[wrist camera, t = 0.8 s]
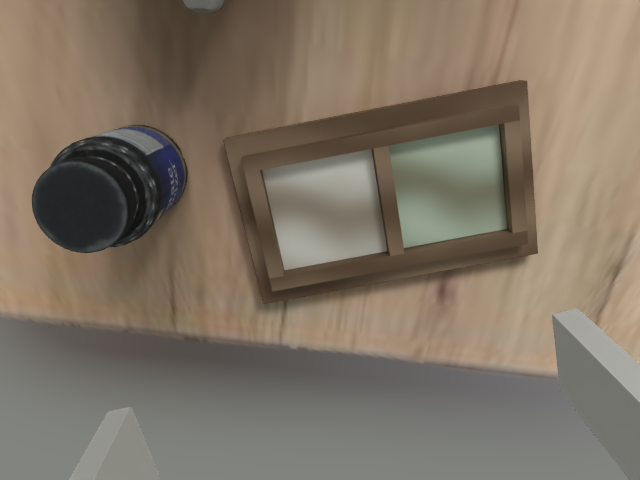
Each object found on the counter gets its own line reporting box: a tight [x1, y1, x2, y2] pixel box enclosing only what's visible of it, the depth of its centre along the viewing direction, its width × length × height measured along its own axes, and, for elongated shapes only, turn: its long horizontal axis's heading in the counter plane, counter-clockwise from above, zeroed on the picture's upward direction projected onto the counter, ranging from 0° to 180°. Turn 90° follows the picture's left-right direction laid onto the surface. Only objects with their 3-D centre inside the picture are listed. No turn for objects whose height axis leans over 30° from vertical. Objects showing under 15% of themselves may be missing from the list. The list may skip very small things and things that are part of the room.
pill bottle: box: [32, 125, 188, 253], centre depth 31 cm, size 6×6×11 cm
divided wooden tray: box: [224, 80, 538, 304], centre depth 36 cm, size 12×20×2 cm, turn 101°
